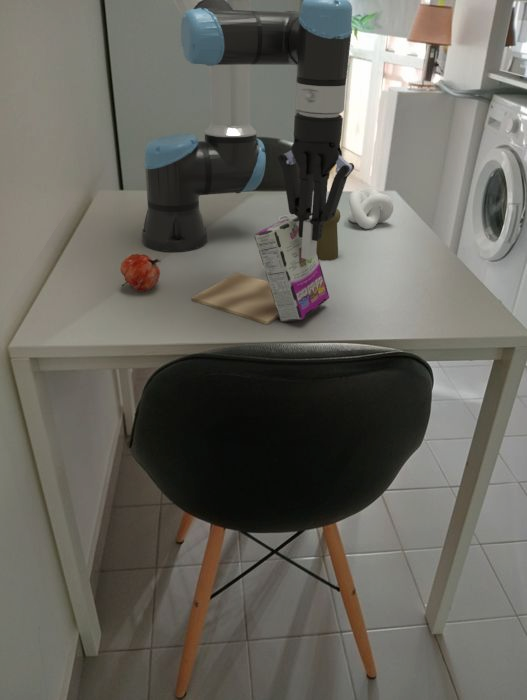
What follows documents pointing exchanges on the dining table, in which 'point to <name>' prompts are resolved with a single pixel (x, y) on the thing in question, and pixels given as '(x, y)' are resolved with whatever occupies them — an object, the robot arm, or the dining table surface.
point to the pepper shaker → (329, 239)
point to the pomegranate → (140, 271)
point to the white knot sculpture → (369, 207)
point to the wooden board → (241, 298)
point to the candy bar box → (290, 271)
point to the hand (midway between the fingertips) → (308, 256)
